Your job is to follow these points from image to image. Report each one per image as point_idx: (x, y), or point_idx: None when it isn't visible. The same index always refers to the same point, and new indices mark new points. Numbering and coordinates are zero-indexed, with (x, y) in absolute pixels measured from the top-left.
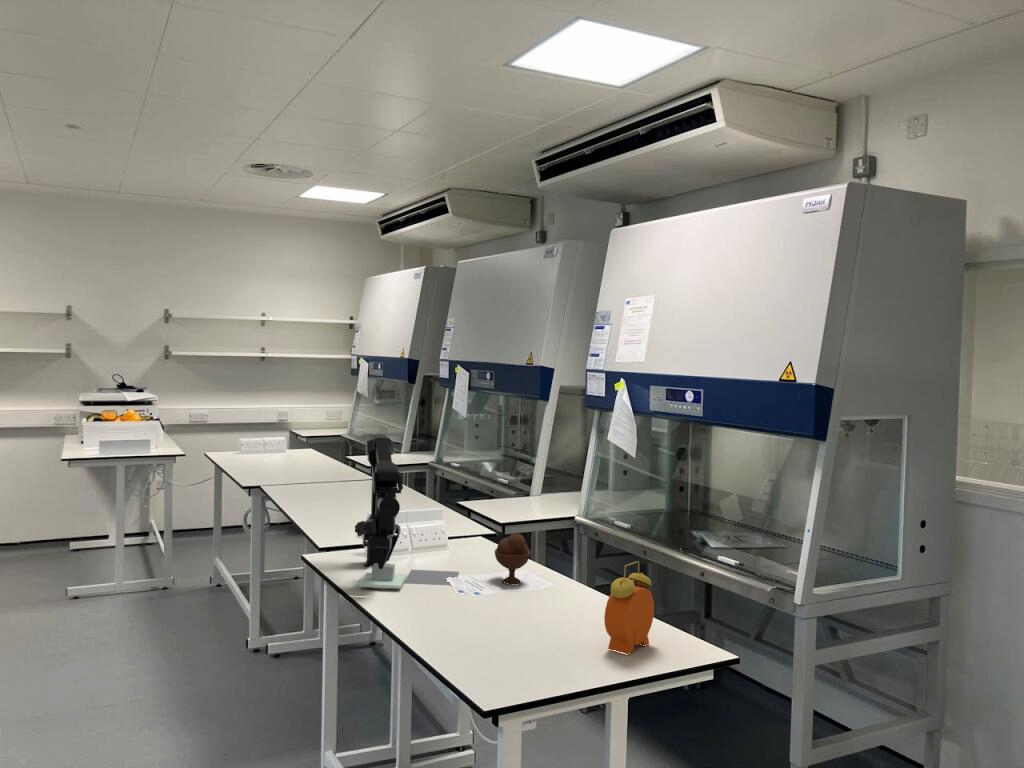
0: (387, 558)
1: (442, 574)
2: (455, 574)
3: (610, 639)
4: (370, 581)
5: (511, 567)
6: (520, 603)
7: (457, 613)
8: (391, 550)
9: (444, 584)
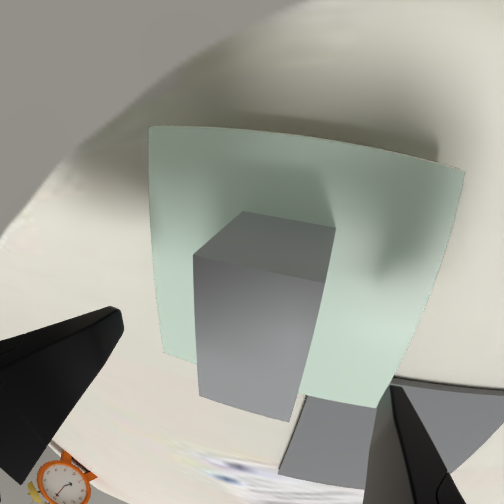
0: (380, 415)
1: None
2: None
3: (63, 459)
4: (212, 204)
5: None
6: (175, 488)
7: (81, 399)
8: (365, 499)
9: (289, 462)
